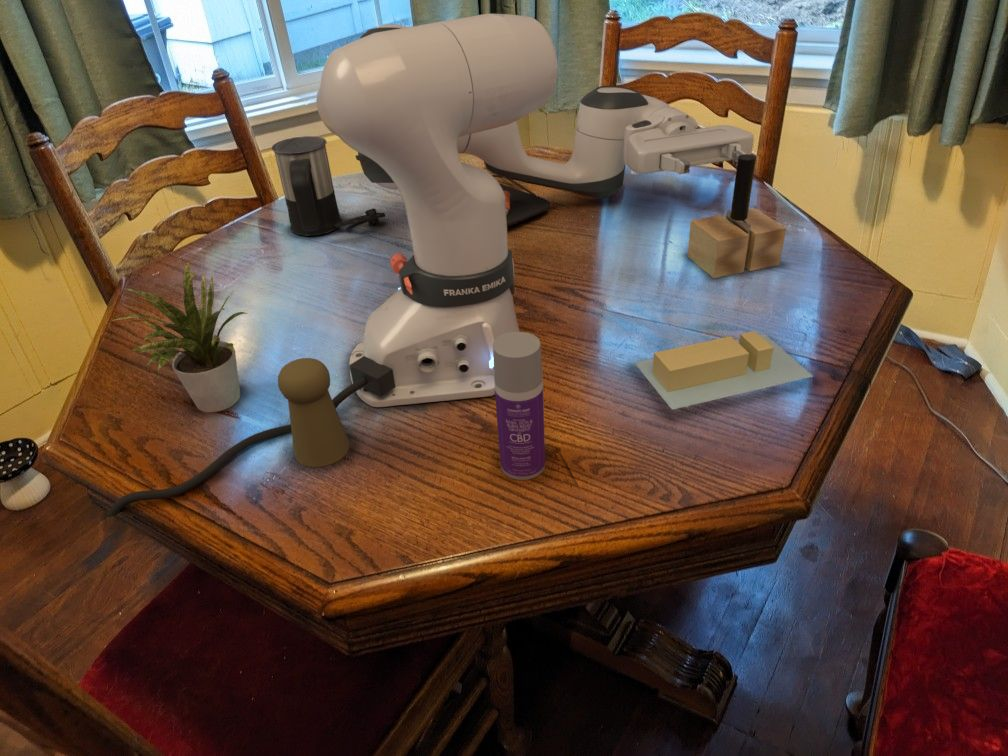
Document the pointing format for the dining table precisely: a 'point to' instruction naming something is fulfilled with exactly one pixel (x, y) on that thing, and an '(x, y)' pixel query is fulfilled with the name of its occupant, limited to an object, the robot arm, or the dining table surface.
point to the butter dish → (730, 380)
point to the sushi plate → (521, 203)
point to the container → (519, 404)
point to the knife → (742, 192)
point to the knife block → (735, 244)
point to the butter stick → (700, 363)
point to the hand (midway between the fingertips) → (713, 164)
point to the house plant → (195, 347)
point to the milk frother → (311, 187)
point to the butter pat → (756, 351)
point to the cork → (312, 413)
